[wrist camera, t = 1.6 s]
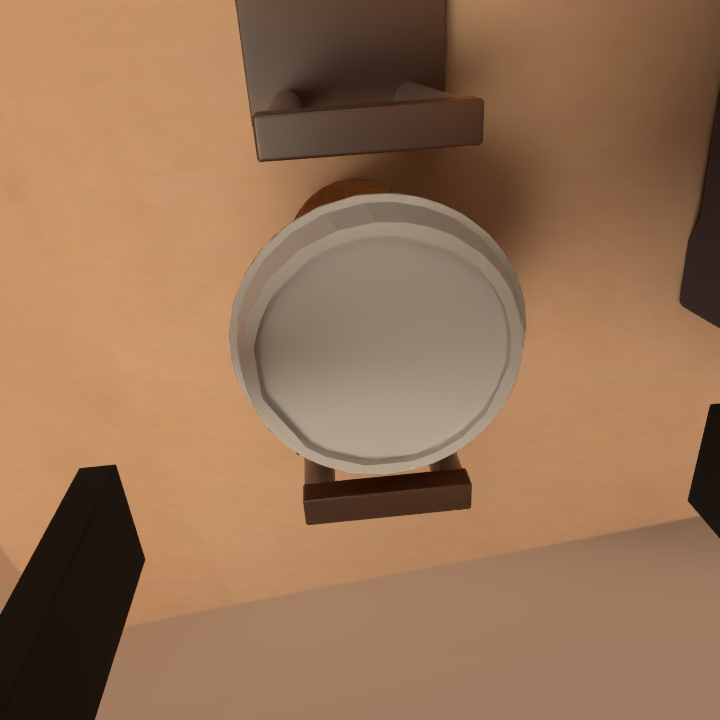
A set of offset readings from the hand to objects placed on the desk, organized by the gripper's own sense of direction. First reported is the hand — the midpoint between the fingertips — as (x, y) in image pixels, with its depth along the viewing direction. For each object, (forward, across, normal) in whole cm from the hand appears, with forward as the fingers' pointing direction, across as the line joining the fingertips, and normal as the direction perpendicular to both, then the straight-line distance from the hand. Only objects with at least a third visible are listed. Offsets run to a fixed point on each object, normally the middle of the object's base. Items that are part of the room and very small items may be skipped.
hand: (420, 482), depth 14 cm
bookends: (+17, 0, 0) cm, 17 cm away
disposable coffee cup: (+18, 0, 0) cm, 18 cm away
